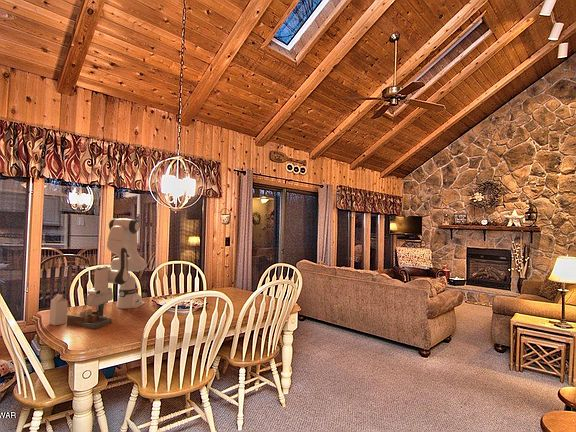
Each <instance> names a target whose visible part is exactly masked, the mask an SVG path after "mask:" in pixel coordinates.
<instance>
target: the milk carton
mask: <svg viewBox="0 0 576 432" xmlns="http://www.w3.org/2000/svg"><path fill="white" fill-rule="evenodd" d="M68 302H69V301H68V299H67V298H64V297H63V295H62V294H59V293H56V295H55V297H53V298H52V299H51V300H50V308H49V309H50V310H49V325H52V326H58V325H59V326H60V325H64V324H67V315H68V306H69V305H68V304H69V303H68Z"/></svg>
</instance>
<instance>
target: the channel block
mask: <svg viewBox="0 0 576 432" xmlns="http://www.w3.org/2000/svg"><path fill="white" fill-rule="evenodd" d="M87 310H88V309H84V310H82V311H85V312H86V311H87ZM92 311H93V313H92V314H91V315H87V314H86V316H85V317H81V316H80V313H78V314H75V315H72V314H67V323H66V326H68V327H77V328H82V323H83V322H84V323H93V322H96V321H98V317H99V312H97V310H95V311H94V310H92Z"/></svg>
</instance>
